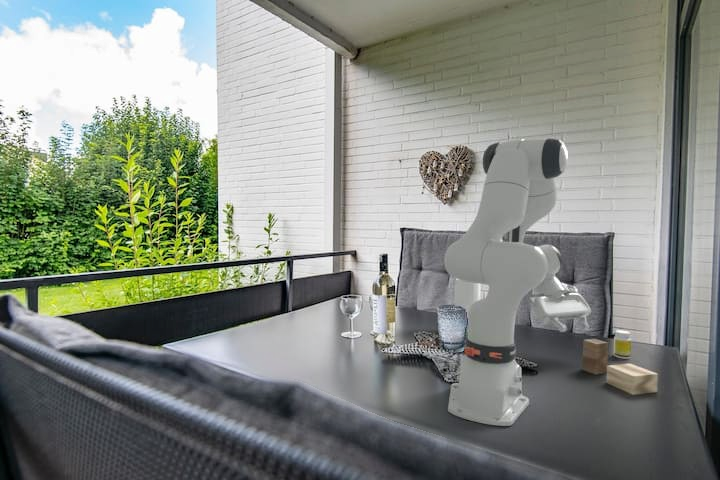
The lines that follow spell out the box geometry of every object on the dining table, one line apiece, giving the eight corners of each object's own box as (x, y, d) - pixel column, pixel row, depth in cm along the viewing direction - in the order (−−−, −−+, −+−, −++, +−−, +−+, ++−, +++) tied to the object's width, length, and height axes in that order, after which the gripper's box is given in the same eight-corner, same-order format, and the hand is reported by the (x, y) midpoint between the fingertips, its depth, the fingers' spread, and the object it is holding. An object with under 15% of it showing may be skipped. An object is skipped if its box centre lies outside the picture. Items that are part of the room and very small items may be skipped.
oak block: (633, 395, 102) (633, 376, 102) (606, 383, 110) (607, 365, 110) (657, 392, 104) (657, 373, 104) (629, 381, 112) (629, 363, 112)
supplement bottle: (632, 359, 130) (634, 334, 129) (616, 358, 130) (617, 333, 130) (626, 355, 134) (627, 330, 134) (610, 353, 135) (611, 329, 135)
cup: (483, 331, 161) (484, 278, 160) (475, 337, 152) (477, 281, 152) (458, 327, 167) (459, 276, 166) (449, 333, 158) (450, 279, 157)
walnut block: (595, 374, 116) (597, 344, 115) (582, 369, 120) (583, 339, 120) (606, 372, 117) (608, 342, 117) (593, 367, 122) (594, 338, 121)
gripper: (532, 289, 128) (556, 327, 119) (579, 286, 135) (605, 322, 126) (522, 300, 132) (544, 337, 123) (567, 297, 139) (592, 332, 131)
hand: (575, 329), depth 125 cm, fingers open, 8 cm apart
